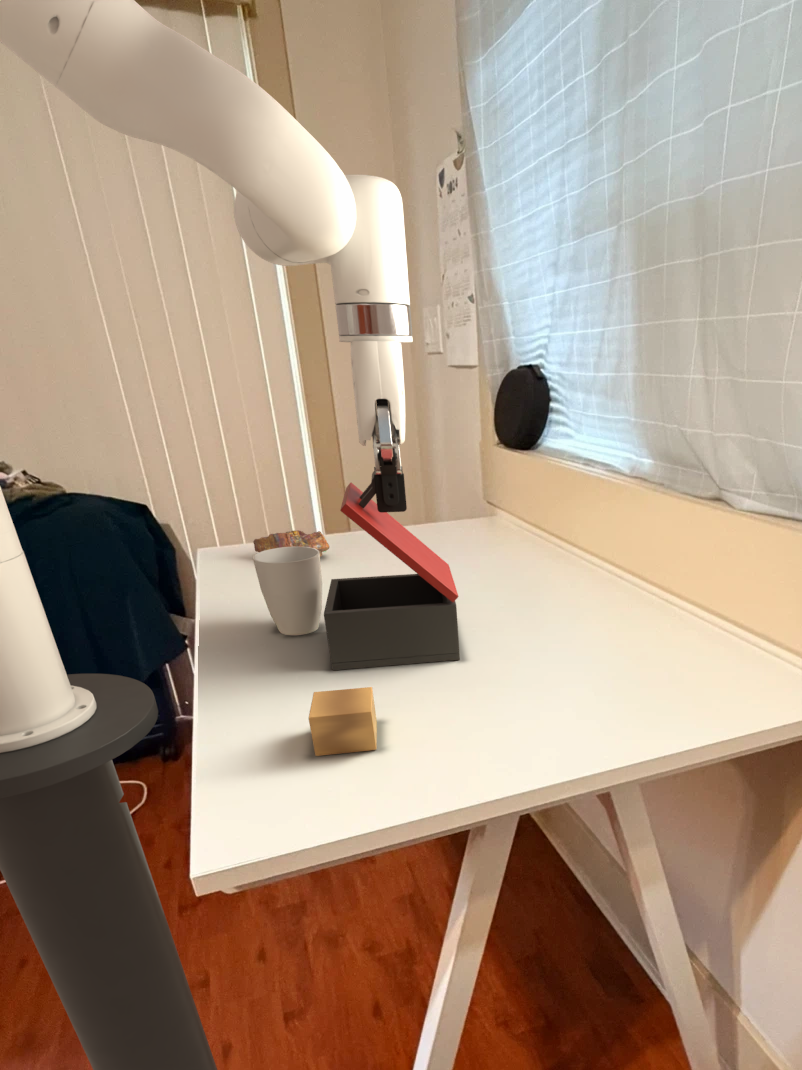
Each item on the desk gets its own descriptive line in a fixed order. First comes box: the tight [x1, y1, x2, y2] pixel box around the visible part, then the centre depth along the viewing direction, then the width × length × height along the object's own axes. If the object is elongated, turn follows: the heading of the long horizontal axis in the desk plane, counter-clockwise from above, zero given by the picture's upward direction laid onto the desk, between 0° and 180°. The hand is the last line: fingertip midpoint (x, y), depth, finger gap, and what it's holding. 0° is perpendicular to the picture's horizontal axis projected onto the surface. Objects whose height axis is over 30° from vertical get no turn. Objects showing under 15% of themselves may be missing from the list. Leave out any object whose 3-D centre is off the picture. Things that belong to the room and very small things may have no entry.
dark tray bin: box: [323, 573, 461, 671], centre depth 87 cm, size 15×14×7 cm
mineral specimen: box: [252, 530, 330, 558], centre depth 124 cm, size 12×8×7 cm
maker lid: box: [339, 470, 459, 602], centre depth 83 cm, size 16×14×5 cm
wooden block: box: [308, 686, 378, 757], centre depth 66 cm, size 6×6×4 cm
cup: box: [252, 547, 323, 636], centre depth 92 cm, size 8×8×10 cm
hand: (391, 504), depth 81 cm, fingers closed on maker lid, 5 cm apart
